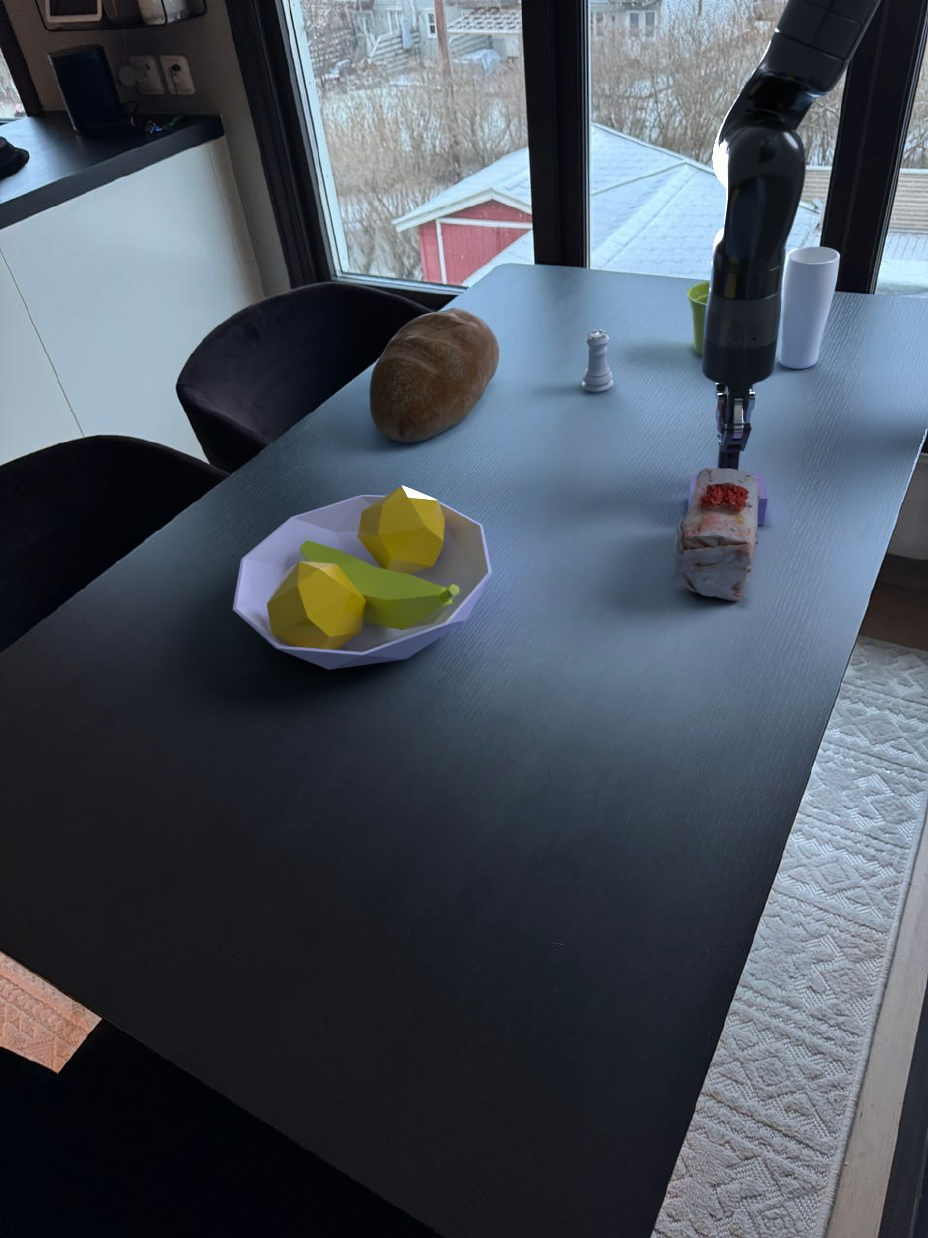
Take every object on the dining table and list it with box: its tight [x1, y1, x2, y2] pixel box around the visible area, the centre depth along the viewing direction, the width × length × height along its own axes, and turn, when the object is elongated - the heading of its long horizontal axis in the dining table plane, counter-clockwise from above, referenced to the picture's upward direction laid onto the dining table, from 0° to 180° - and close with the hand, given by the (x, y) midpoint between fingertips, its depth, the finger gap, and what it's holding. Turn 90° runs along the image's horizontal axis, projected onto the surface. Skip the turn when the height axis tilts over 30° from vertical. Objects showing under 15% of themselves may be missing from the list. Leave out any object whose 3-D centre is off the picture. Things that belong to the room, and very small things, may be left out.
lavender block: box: [688, 473, 769, 526], centre depth 99 cm, size 8×5×4 cm, turn 81°
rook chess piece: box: [581, 328, 614, 394], centre depth 124 cm, size 4×4×8 cm
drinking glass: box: [778, 245, 841, 370], centre depth 121 cm, size 7×7×15 cm
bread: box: [369, 307, 500, 443], centre depth 126 cm, size 16×29×11 cm, turn 162°
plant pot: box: [686, 280, 710, 356], centre depth 129 cm, size 9×9×9 cm
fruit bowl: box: [232, 485, 493, 671], centre depth 89 cm, size 28×27×11 cm
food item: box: [673, 467, 760, 602], centre depth 90 cm, size 14×8×10 cm, turn 164°
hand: (727, 472), depth 104 cm, fingers closed
